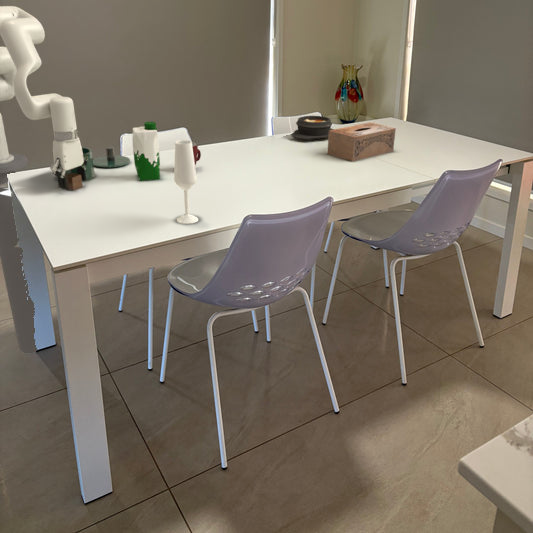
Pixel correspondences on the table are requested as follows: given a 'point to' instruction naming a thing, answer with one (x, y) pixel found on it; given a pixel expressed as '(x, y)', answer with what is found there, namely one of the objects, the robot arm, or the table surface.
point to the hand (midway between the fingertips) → (72, 183)
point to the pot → (89, 166)
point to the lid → (111, 159)
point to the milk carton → (146, 152)
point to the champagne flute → (185, 175)
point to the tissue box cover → (361, 141)
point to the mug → (196, 152)
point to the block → (73, 181)
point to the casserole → (312, 127)
